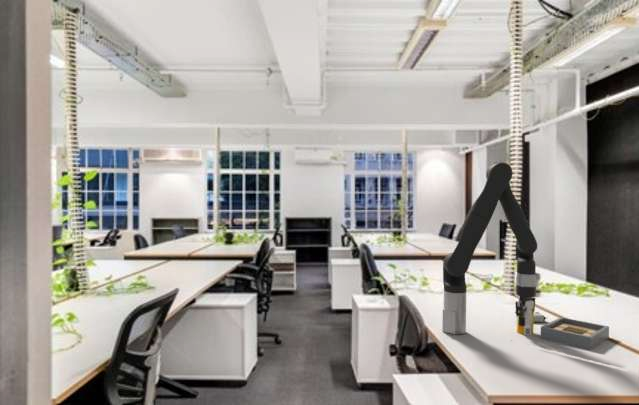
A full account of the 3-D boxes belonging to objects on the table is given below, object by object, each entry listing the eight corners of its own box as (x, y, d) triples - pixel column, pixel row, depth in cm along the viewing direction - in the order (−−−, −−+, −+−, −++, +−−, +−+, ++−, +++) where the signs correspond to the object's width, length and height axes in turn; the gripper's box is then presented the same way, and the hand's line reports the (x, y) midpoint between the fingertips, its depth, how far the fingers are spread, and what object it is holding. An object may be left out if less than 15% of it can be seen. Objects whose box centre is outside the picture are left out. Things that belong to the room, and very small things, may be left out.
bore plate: (588, 346, 168) (588, 338, 168) (549, 337, 179) (549, 329, 179) (600, 338, 178) (600, 331, 178) (562, 330, 188) (562, 323, 188)
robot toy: (513, 317, 215) (518, 323, 200) (513, 308, 215) (518, 313, 200) (540, 319, 211) (547, 326, 197) (540, 310, 212) (548, 316, 197)
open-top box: (590, 352, 164) (591, 337, 164) (540, 340, 177) (540, 326, 177) (608, 340, 179) (609, 326, 179) (561, 329, 192) (561, 317, 192)
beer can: (528, 332, 187) (529, 297, 187) (536, 337, 181) (536, 301, 181) (514, 332, 187) (515, 297, 187) (521, 337, 181) (522, 301, 181)
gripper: (524, 280, 191) (523, 319, 191) (509, 285, 182) (508, 325, 182) (542, 283, 186) (541, 323, 186) (527, 287, 176) (527, 329, 176)
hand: (525, 324), depth 184 cm, fingers closed on beer can, 6 cm apart
